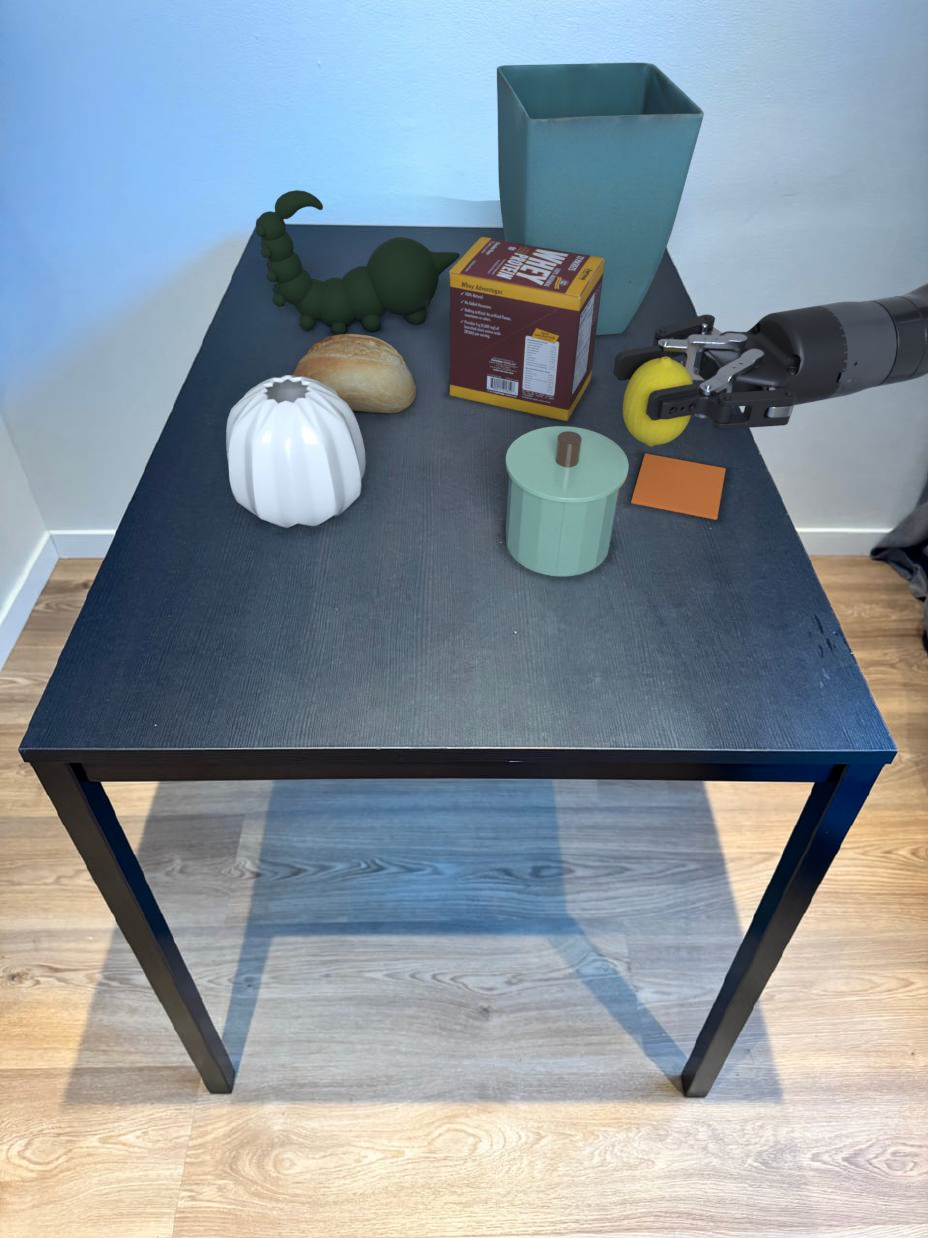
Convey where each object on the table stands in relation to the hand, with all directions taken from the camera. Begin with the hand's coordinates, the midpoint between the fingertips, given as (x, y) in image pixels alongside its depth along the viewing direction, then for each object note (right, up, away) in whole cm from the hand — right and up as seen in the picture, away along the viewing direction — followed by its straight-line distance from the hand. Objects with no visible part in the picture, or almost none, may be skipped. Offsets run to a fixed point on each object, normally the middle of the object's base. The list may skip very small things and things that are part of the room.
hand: (633, 386), depth 68 cm
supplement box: (-6, +10, +40) cm, 42 cm away
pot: (-4, -10, +20) cm, 23 cm away
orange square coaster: (+10, -4, +27) cm, 29 cm away
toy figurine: (-26, +22, +51) cm, 62 cm away
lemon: (+2, -4, +5) cm, 7 cm away
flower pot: (+2, +24, +53) cm, 58 cm away
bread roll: (-26, +8, +37) cm, 46 cm away
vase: (-30, -6, +24) cm, 39 cm away
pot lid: (-4, -4, +13) cm, 14 cm away
